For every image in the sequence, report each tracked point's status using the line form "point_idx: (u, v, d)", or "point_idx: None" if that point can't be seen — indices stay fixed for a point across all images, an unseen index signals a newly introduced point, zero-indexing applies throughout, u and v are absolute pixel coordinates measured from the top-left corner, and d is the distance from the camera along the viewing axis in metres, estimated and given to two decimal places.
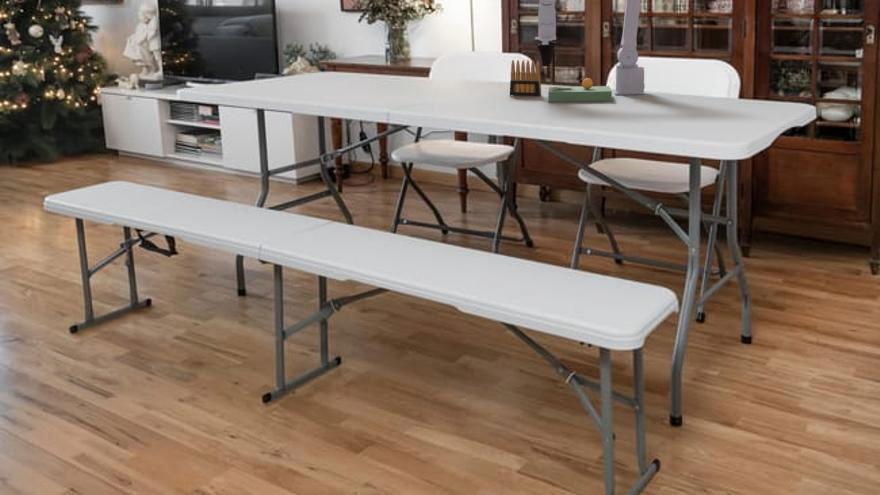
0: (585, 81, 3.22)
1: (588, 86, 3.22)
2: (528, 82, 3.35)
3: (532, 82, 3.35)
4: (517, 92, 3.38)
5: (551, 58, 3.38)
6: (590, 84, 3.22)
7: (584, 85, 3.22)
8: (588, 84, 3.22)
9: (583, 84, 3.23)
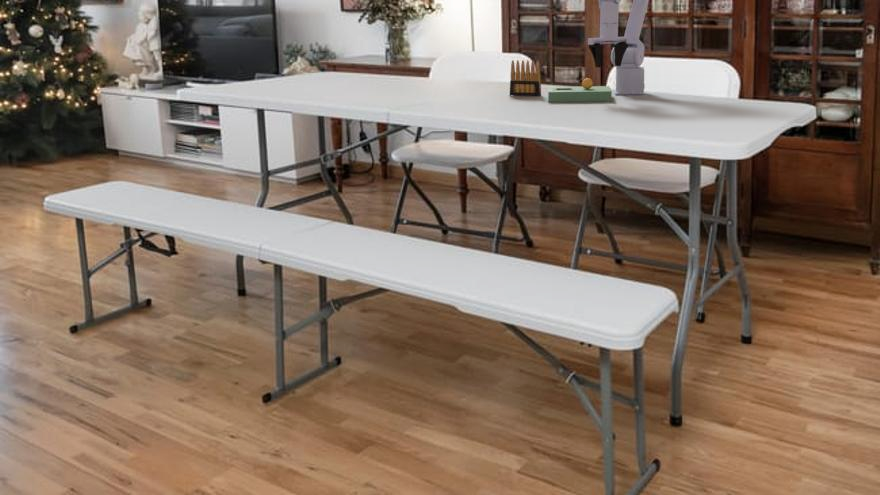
0: (585, 81, 3.22)
1: (588, 86, 3.22)
2: (528, 82, 3.35)
3: (532, 82, 3.35)
4: (517, 92, 3.38)
5: (619, 60, 3.21)
6: (590, 84, 3.22)
7: (584, 85, 3.22)
8: (588, 84, 3.22)
9: (583, 84, 3.23)
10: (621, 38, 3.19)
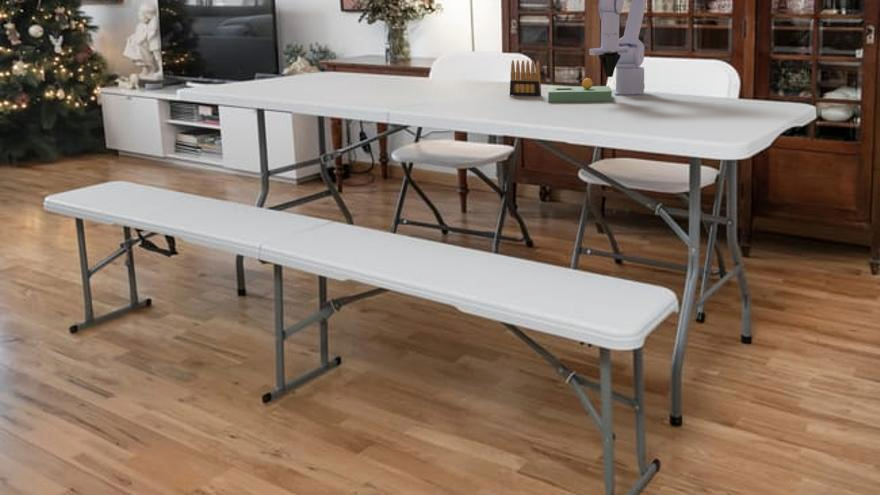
0: (585, 81, 3.22)
1: (588, 86, 3.22)
2: (528, 82, 3.35)
3: (532, 82, 3.35)
4: (517, 92, 3.38)
5: (611, 71, 3.21)
6: (590, 84, 3.22)
7: (584, 85, 3.22)
8: (588, 84, 3.22)
9: (583, 84, 3.23)
10: (622, 48, 3.20)
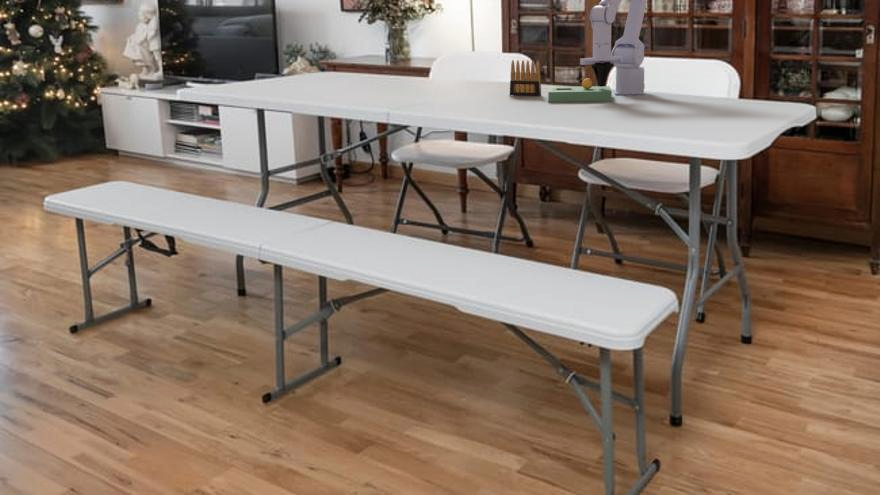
0: (585, 81, 3.22)
1: (588, 86, 3.22)
2: (528, 82, 3.35)
3: (532, 82, 3.35)
4: (517, 92, 3.38)
5: (603, 80, 3.22)
6: (590, 84, 3.22)
7: (584, 85, 3.22)
8: (588, 84, 3.22)
9: (583, 84, 3.23)
10: (614, 58, 3.20)
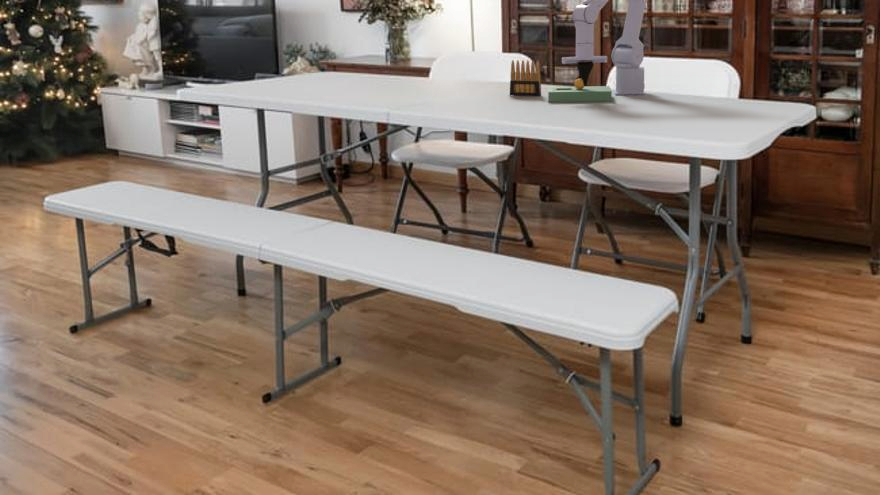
0: (576, 86, 3.23)
1: (582, 84, 3.22)
2: (528, 82, 3.35)
3: (532, 82, 3.35)
4: (517, 92, 3.38)
5: None
6: (580, 81, 3.22)
7: (580, 87, 3.23)
8: (580, 84, 3.22)
9: (579, 88, 3.23)
10: (596, 58, 3.20)
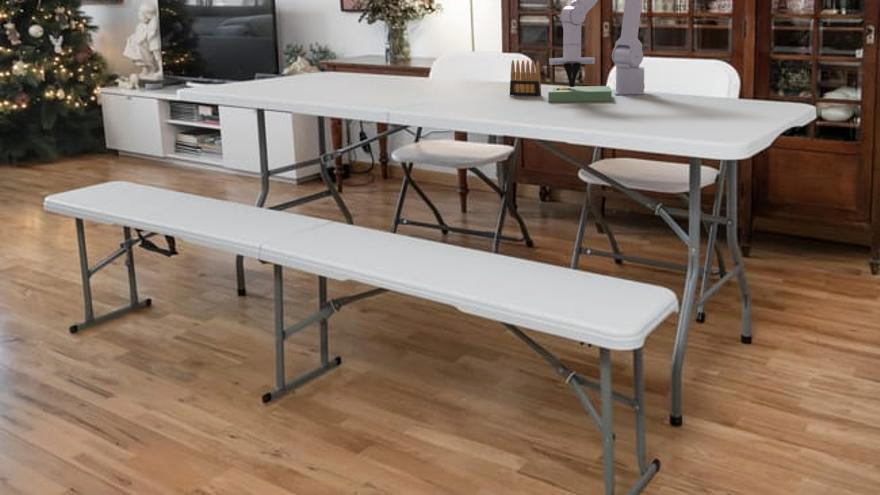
0: (565, 88, 3.25)
1: (559, 89, 3.25)
2: (528, 82, 3.35)
3: (532, 82, 3.35)
4: (517, 92, 3.38)
5: (572, 81, 3.23)
6: None
7: None
8: (561, 88, 3.25)
9: None
10: (583, 59, 3.20)
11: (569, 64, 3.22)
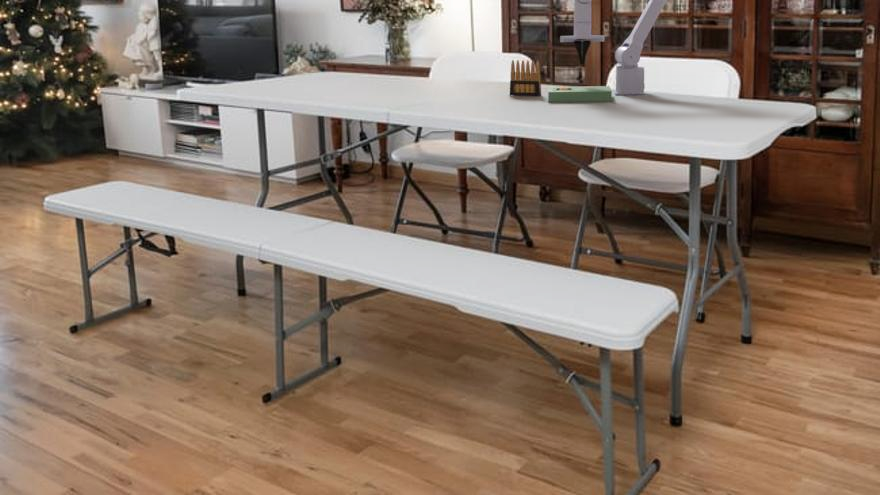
0: (565, 88, 3.25)
1: (559, 89, 3.25)
2: (528, 82, 3.35)
3: (532, 82, 3.35)
4: (517, 92, 3.38)
5: (582, 58, 3.30)
6: None
7: None
8: (561, 89, 3.25)
9: None
10: (593, 37, 3.27)
11: (579, 42, 3.29)
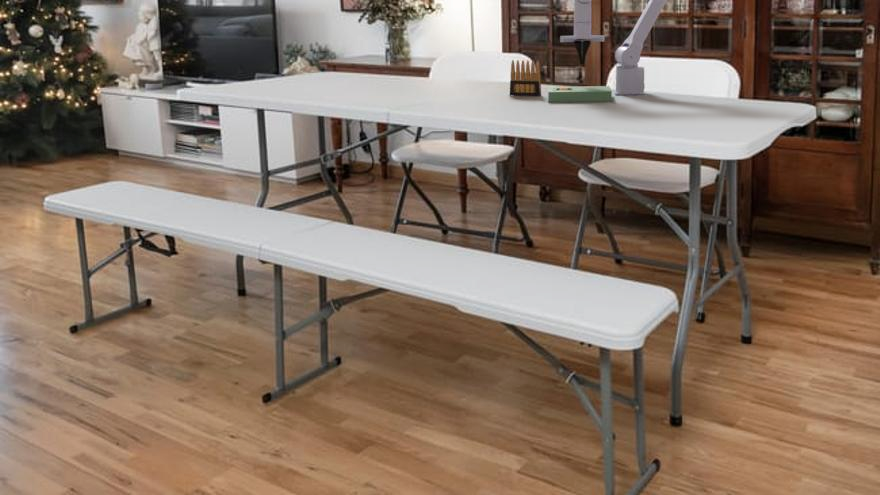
0: (565, 88, 3.25)
1: None
2: (528, 82, 3.35)
3: (532, 82, 3.35)
4: (517, 92, 3.38)
5: (582, 58, 3.30)
6: None
7: None
8: (561, 89, 3.25)
9: None
10: (593, 37, 3.27)
11: (579, 42, 3.29)
